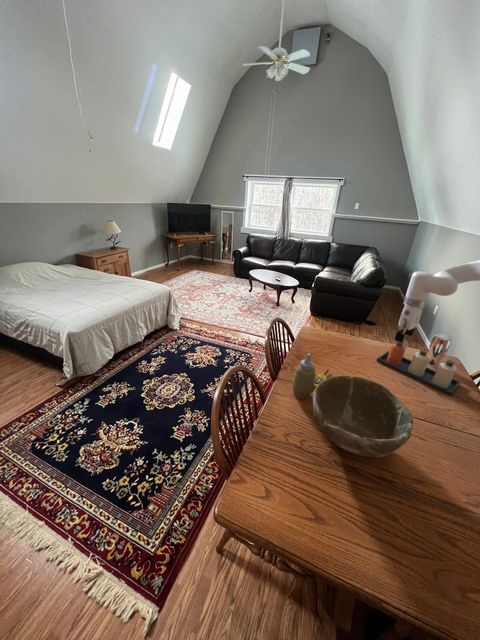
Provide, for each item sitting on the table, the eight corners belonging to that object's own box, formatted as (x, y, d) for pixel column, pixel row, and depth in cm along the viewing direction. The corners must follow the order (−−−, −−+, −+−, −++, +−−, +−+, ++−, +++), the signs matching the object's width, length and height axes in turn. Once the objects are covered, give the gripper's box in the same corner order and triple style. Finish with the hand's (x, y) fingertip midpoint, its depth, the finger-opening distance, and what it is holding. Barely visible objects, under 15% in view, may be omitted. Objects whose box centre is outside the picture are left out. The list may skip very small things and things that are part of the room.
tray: (459, 386, 111) (461, 382, 110) (450, 397, 104) (452, 393, 103) (387, 354, 131) (388, 350, 131) (375, 362, 125) (377, 358, 124)
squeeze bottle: (305, 404, 97) (313, 363, 89) (286, 394, 102) (292, 354, 94) (316, 394, 103) (324, 354, 95) (298, 384, 107) (304, 345, 100)
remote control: (309, 382, 106) (323, 365, 117) (308, 385, 107) (322, 368, 118) (320, 387, 104) (334, 369, 114) (319, 391, 104) (333, 373, 115)
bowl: (360, 501, 67) (376, 460, 61) (289, 427, 87) (295, 391, 81) (417, 452, 81) (435, 415, 74) (344, 398, 101) (353, 365, 95)
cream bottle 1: (425, 373, 117) (434, 351, 113) (420, 378, 114) (429, 356, 109) (411, 366, 121) (419, 346, 117) (405, 371, 118) (413, 350, 113)
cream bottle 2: (450, 384, 111) (461, 362, 106) (446, 390, 107) (456, 367, 103) (434, 377, 115) (444, 355, 110) (429, 382, 111) (439, 360, 107)
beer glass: (422, 365, 124) (434, 337, 117) (423, 359, 129) (434, 331, 123) (440, 371, 120) (453, 342, 114) (440, 364, 125) (453, 336, 119)
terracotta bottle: (402, 363, 124) (410, 342, 119) (397, 367, 121) (404, 346, 116) (389, 357, 128) (396, 337, 123) (384, 361, 125) (390, 340, 120)
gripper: (416, 309, 104) (403, 347, 111) (432, 300, 114) (420, 335, 121) (396, 303, 109) (385, 340, 116) (413, 295, 119) (402, 329, 126)
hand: (403, 337), depth 118 cm, fingers open, 9 cm apart
